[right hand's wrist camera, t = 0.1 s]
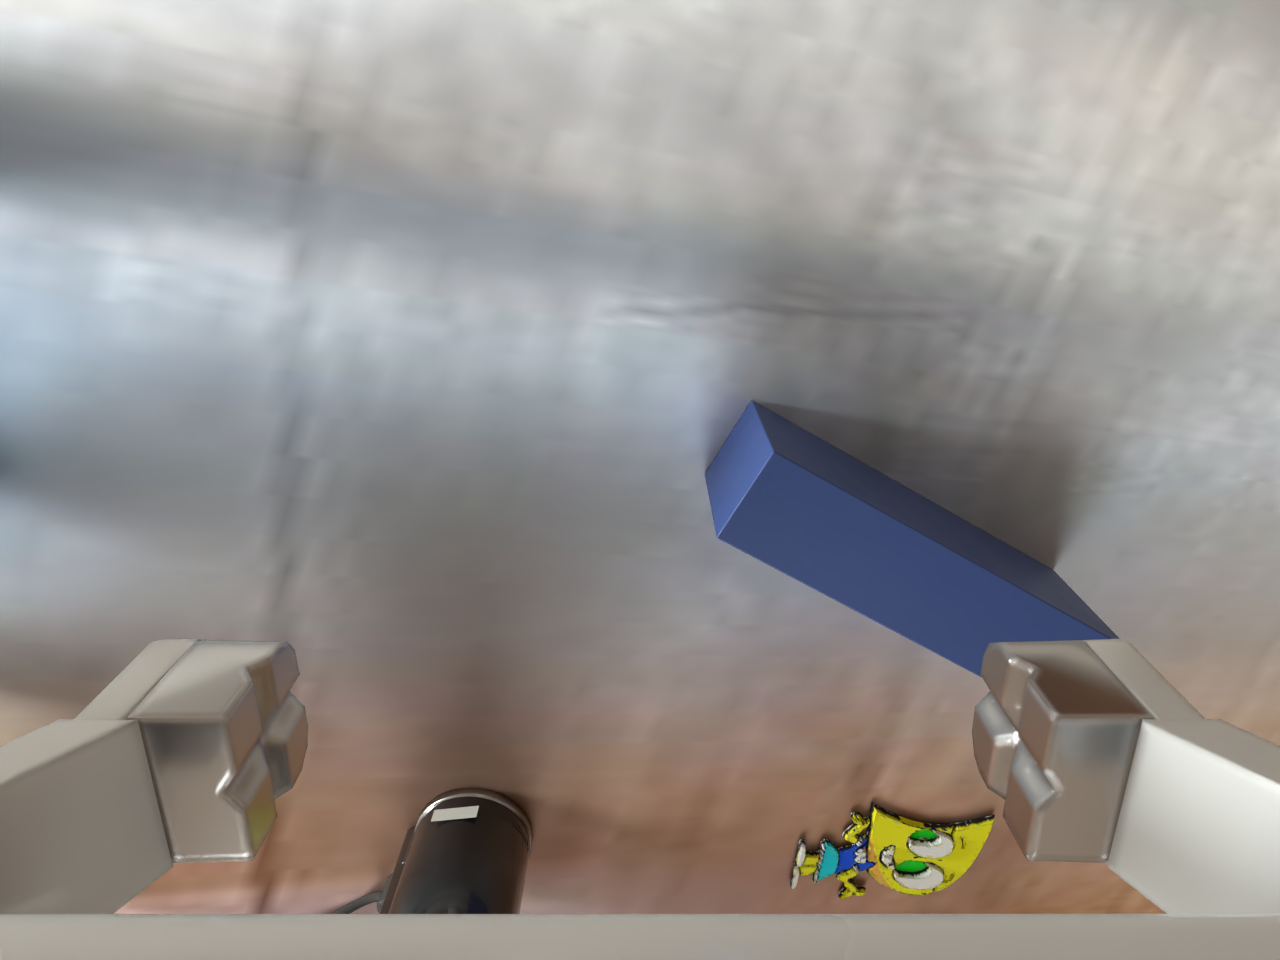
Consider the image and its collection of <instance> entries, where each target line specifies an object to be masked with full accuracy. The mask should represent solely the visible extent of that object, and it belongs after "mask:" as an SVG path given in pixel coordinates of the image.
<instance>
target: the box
mask: <svg viewBox="0 0 1280 960" xmlns="http://www.w3.org/2000/svg"><path fill="white" fill-rule="evenodd" d="M705 478H706V484H707V489H708V494H709V499H710V504H711V509H712V514H713V520H714V525H715V530H716V535H717V538H718V539H720V540H722V541H724V542H726V543H728V544H730V545H732V546H734V547H735V548H737V549H739V550H741V551H743V552H745V553H747V554H749V555H751V556H752V557H754V558H756V559H758V560H760V561H762V562H764V563H766V564H768V565H770V566H771V567H773V568H775V569H777V570H779V571H781V572H783V573H785V574H787V575H788V576H790V577H792V578H794V579H796V580H798V581H800V582H802V583H804V584H806V585H807V586H809V587H811V588H813V589H815V590H817V591H819V592H821V593H823V594H824V595H826V596H828V597H830V598H832V599H834V600H836V601H838V602H840V603H842V604H843V605H845V606H847V607H849V608H851V609H853V610H855V611H857V612H859V613H860V614H862V615H864V616H866V617H868V618H870V619H872V620H874V621H876V622H878V623H879V624H881V625H883V626H885V627H887V628H889V629H891V630H893V631H895V632H896V633H898V634H900V635H902V636H904V637H906V638H908V639H910V640H912V641H914V642H915V643H917V644H919V645H921V646H923V647H925V648H927V649H929V650H931V651H932V652H934V653H936V654H938V655H940V656H942V657H944V658H946V659H948V660H950V661H951V662H953V663H955V664H957V665H959V666H961V667H963V668H965V669H967V670H968V671H970V672H972V673H974V674H976V675H978V676H980V677H982V676H981V675H980V673H981V667H982V662H983V656H984V654H985V651H986V649H987V647H988V645H989V643H997V642H1031V641H1072V640H1101V639H1119V638H1118V636H1117V635H1116V634H1115V633H1114V632H1113V631H1112V630H1111V629H1110V628H1109V627H1108V626H1107V625H1106V624H1105V623H1104V622H1103V621H1102V620H1101V619H1100V618H1099V617H1098V616H1097V615H1096V614H1095V613H1094V612H1093V611H1092V610H1091V609H1090V608H1089V607H1088V606H1087V604H1086V603H1085V602H1084V601H1083V600H1082V599H1081V598H1080V597H1079V596H1078V595H1077V594H1076V593H1075V592H1074V591H1073V590H1072V589H1071V588H1070V587H1069V586H1068V585H1067V584H1066V583H1065V582H1064V581H1063V580H1062V579H1061V578H1060V577H1059V576H1058V575H1057V574H1056V572H1055V571H1054V570H1052V569H1050V568H1048V567H1047V566H1045V565H1043V564H1041V563H1040V562H1038V561H1036V560H1034V559H1032V558H1031V557H1029V556H1027V555H1025V554H1024V553H1022V552H1020V551H1018V550H1016V549H1015V548H1013V547H1011V546H1009V545H1008V544H1006V543H1004V542H1002V541H1001V540H999V539H997V538H995V537H993V536H992V535H990V534H988V533H986V532H985V531H983V530H981V529H979V528H978V527H976V526H974V525H972V524H970V523H969V522H967V521H965V520H963V519H962V518H960V517H958V516H956V515H954V514H953V513H951V512H949V511H947V510H946V509H944V508H942V507H940V506H939V505H937V504H935V503H933V502H931V501H930V500H928V499H926V498H924V497H923V496H921V495H919V494H917V493H916V492H914V491H912V490H910V489H908V488H907V487H905V486H903V485H901V484H900V483H898V482H896V481H894V480H892V479H891V478H889V477H887V476H885V475H884V474H882V473H880V472H878V471H877V470H875V469H873V468H871V467H869V466H868V465H866V464H864V463H862V462H861V461H859V460H857V459H855V458H853V457H852V456H850V455H848V454H846V453H845V452H843V451H841V450H839V449H838V448H836V447H834V446H832V445H830V444H829V443H827V442H825V441H823V440H822V439H820V438H818V437H816V436H815V435H813V434H811V433H809V432H807V431H806V430H804V429H802V428H800V427H799V426H797V425H795V424H793V423H791V422H790V421H788V420H786V419H784V418H783V417H781V416H779V415H777V414H776V413H774V412H772V411H770V410H768V409H767V408H765V407H763V406H761V405H760V404H758V403H756V402H754V401H751V402H750V404H749V405H748V407H747V408H746V410H745V411H744V413H743V415H742V416H741V418H740V419H739V421H738V422H737V424H736V426H735V427H734V429H733V430H732V432H731V433H730V435H729V437H728V438H727V440H726V441H725V443H724V444H723V446H722V448H721V449H720V451H719V452H718V454H717V455H716V457H715V459H714V460H713V462H712V463H711V465H710V467H709V468H708V470H707V471H706V473H705Z"/></svg>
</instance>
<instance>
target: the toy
mask: <svg viewBox="0 0 1280 960" xmlns="http://www.w3.org/2000/svg"><path fill="white" fill-rule="evenodd" d="M869 813H870V815H869V816H867V817H863V816H862V815H861V814H860V813H859V812H852V813H851V819H852V820H853V821H854V823H853V824H852V825H851V826H849V827H848V828H847V829H846V830H845V831H844V832H843V835H842V836H843V837H844V838H845V839H846V840H847V841H850V842H851V843H855V844H852V845H848V846H844V847H840V848H838V847H837V846H836V845H835V844H834V843H833V842H831V841H830V840H828V839H824V840H823V841H821V842H820V846H821V847H819V849H818V850H819V851H806V841H805V840H802V839H800V840H799V844H798V848H797V853H796V857H795V861H794V866H793V877H794V879H793V881H792V882H791V880H790V884H789V885H790V887H791V889H792V890H794V887H796V885H797V881H798V877H799V875H809V874H810V873H812V879H813V881H814V883H815V884H816V882H817V880H822V879H823V878H825V877H828V876H830V875H831V874H833V873H834V874H836V878H837V879H838V880H839V881H842V880H843V881H842V882H843V884H844V886H845V887H843V888H842V889H841V890H840V892H839V894H838V897H839V898H840V899H845V898H846V897H849V896H852V894H853V895H856V896H861V895H864V894H865V887H859V886H857V885H856V882H855V881H854V880H852V879H851V878H852V877H854V876H856V875H857V874H859V871H863V870H865V869H866V871H867V873H868V874H870V875H871V876H872V877H873V878H874V879H875V880H876V881H878V882H879V883H880V884H882V885H884V886H886V887H888V888H890V889H892V890H895V891H897V892H900V893H903V894H910V895H927V894H931V893H932V892H933V890H935V891H936V892H937V891H940V890H942V889H945V888H946V887H948V886H949V885H951V884H952V883H953V882H955V881H956V880H957V879H958V878H960V877H961V876H962V875H963V874H964V873H965V872H966V871H967V869H968V868H969V867H970V866H971V864H972V863H973V861H974V860H975V859H976V857H977V856H978V853H979V852H980V850H981V849H982V846H983V843H985V841H986V839H987V837H988V835H989V833H990V830H991V827H992V824H993V822H994V815H990V816H986V817H983V818H979V819H974V820H971V821H965V822H960V823H951V824H930V823H922V822H917V821H913V820H910V819H907V818H904V817H902V816H899V815H896V814H893V813H891V812H889V811H887V810H885V809H883V808H881V807H879V806H877V805H876V804H874V803H871V808H870V812H869ZM883 816H884V817H885V818H884V817H883ZM859 822H861V823H859ZM861 826H863V827H861ZM867 826H868V827H867ZM909 826H910V827H909ZM865 827H867V829H868V830H867V835H866V834H861V833H860V832H861V831H862V830H863V829H864V828H865ZM857 829H858V830H857ZM964 829H965V830H964ZM963 830H964V831H963ZM917 831H918V832H917ZM955 832H956V833H955ZM913 834H914V835H913ZM849 835H850V836H849ZM954 835H955V836H954ZM852 836H854V837H852ZM936 836H937V837H936ZM964 836H965V838H964ZM913 837H914V838H913ZM945 837H946V838H945ZM924 839H927V840H924ZM863 841H864V842H863ZM969 841H970V842H969ZM906 843H907V848H906ZM959 843H960V844H959ZM965 843H966V844H967V845H966V844H965ZM861 844H862V846H861ZM916 845H917V846H916ZM936 845H937V846H936ZM939 845H940V846H939ZM918 846H919V847H918ZM926 846H927V847H926ZM930 846H931V847H930ZM932 846H933V847H932ZM846 851H847V852H846ZM891 851H892V852H891ZM908 851H909V852H908ZM874 856H876V857H874ZM814 858H815V859H814ZM934 858H935V859H934ZM908 861H910V862H908ZM919 861H920V862H919ZM876 862H877V863H876ZM861 863H863V864H861ZM902 863H903V864H902ZM934 863H935V864H934ZM805 867H806V868H805ZM810 867H813V868H810ZM804 868H805V869H804ZM863 868H864V869H863ZM882 869H884V870H882ZM903 870H904V871H903ZM798 871H799V872H798ZM879 872H880V873H879ZM955 872H956V873H955ZM829 873H830V874H829ZM852 873H853V874H852ZM949 874H950V875H949ZM844 875H845V876H844ZM949 876H950V877H949ZM840 877H841V878H840ZM898 877H899V878H898ZM946 877H947V878H946ZM921 878H922V879H921ZM886 879H887V880H888V881H887V880H886ZM885 880H886V881H885ZM949 881H950V882H949ZM890 882H891V883H890ZM946 883H948V884H946ZM845 884H846V885H845ZM854 887H855V889H854ZM849 888H850V889H849ZM930 889H932V890H930ZM851 890H852V891H851ZM925 890H926V891H925ZM858 892H860V893H858Z"/></svg>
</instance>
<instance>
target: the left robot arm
mask: <svg viewBox="0 0 1280 960" xmlns="http://www.w3.org/2000/svg"><path fill="white" fill-rule="evenodd" d="M531 846H532V828H531V825H530V822H529V820H528V818H527V816H526V815H525V813H524V812H523V811H522V810H521V808H520V807H519V806H517V805H516V804H515V803H514V802H513V801H511V800H510V799H508V798H507V797H505V796H503V795H501V794H498V793H496V792H493V791H490V790H486V789H480V788H461V789H455V790H451V791H448V792H445V793H443V794H441V795H439V796H437V797H436V798H434V799H433V800H432V801H430V802H429V803H428V804H427V805H426V806H425V808H424V809H423V810H422V812H421V814H420V816H419V818H418V821H417V824H416V826H415V827H413V828H411V829H409V830H408V831H407V834H406V837H405V840H404V843H403V845H402V848H401V851H400V854H399V857H398V860H397V863H396V866H395V869H394V872H393V874H391V875H389V876H388V878H387V881H386V884H385V887H384V889H383V891H378V892H373V893H370V894H368V895H366V896H363V897H361V898H359V899H357V900H355V901H353V902H351V903H349V904H347V905H346V906H344V907H342V908H340V909H338V910H337V911H335V912H334V913H332V914H350V913H351V912H353V911H355V910H357V909H359V908H360V907H363V906H365V905H367V904H370V903H372V902H378V903H377V909H378V912H379V914H520V908H521V901H522V895H523V888H524V882H525V876H526V869H527V863H528V859H529V856H530V852H531Z"/></svg>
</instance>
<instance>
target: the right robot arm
mask: <svg viewBox="0 0 1280 960" xmlns="http://www.w3.org/2000/svg"><path fill="white" fill-rule="evenodd" d="M299 675H300V673H299V668H298V663H297V658H296V653H295V649H294V648H293V647H292V646H291V645H290V644H289V643H288V642H287V641H241V640H199V639H178V640H159V641H153V642H151V643H150V644H149V645H148V646H147V647H146V648H145V649H144V650H143V651H142V652H141V653H140V654H139V655H138V656H137V657H136V658H135V659H134V660H133V661H132V662H131V663H130V664H129V665H128V666H127V667H126V668H125V669H124V670H123V671H122V672H121V673H120V674H119V675H118V676H117V677H116V678H115V679H114V680H113V681H112V682H111V683H110V684H109V685H108V686H107V687H106V688H105V689H104V690H103V691H102V692H101V693H100V694H99V695H98V696H97V697H96V698H95V699H94V700H93V701H92V702H91V703H90V704H89V705H88V706H87V707H86V708H85V709H84V710H83V711H82V712H81V713H80V714H79V715H78V716H77V717H76V718H75V719H69V720H58V721H55V722H53V723H51V724H49V725H46V726H44V727H42V728H40V729H37V730H35V731H33V732H31V733H28V734H26V735H24V736H22V737H19V738H17V739H15V740H13V741H10V742H8V743H6V744H3V745H1V746H0V960H1280V746H1279V745H1276V744H1274V743H1272V742H1270V741H1267V740H1265V739H1263V738H1261V737H1258V736H1256V735H1254V734H1252V733H1249V732H1247V731H1245V730H1243V729H1240V728H1238V727H1236V726H1234V725H1231V724H1229V723H1227V722H1225V721H1222V720H1211V719H1205V718H1204V717H1203V716H1202V715H1201V714H1200V713H1199V712H1198V711H1197V710H1196V709H1195V708H1194V707H1193V706H1192V705H1191V704H1190V703H1189V702H1188V701H1187V700H1186V699H1185V698H1184V697H1183V696H1182V695H1181V694H1180V693H1179V692H1178V691H1177V690H1176V689H1175V688H1174V687H1173V686H1172V685H1171V684H1170V683H1169V682H1168V681H1167V680H1166V679H1165V678H1164V677H1163V676H1162V675H1161V674H1160V673H1159V672H1158V671H1157V670H1156V669H1155V668H1154V667H1153V666H1152V665H1151V664H1150V663H1149V662H1148V661H1147V660H1146V659H1145V658H1144V657H1143V656H1142V655H1141V654H1140V652H1139V651H1138V650H1137V649H1136V648H1135V647H1134V646H1133V645H1132V644H1131V643H1129V642H1126V641H1123V640H1121V639H1101V640H1072V641H1031V642H997V643H989V645H988V647H987V649H986V651H985V654H984V656H983V662H982V667H981V673H980V675H981V676H982V678H983V679H984V681H985V683H986V684H987V686H988V687H989V689H990V692H989V693H988V694H987V695H986V696H985V697H984V698H983V699H982V700H981V701H980V702H979V703H978V704H977V705H976V706H975V711H974V720H973V728H972V737H973V748H974V756H975V759H976V763H977V766H978V769H979V772H980V774H981V776H982V778H983V780H984V782H985V784H986V786H987V788H988V789H990V790H991V791H993V792H994V793H996V794H997V795H999V796H1001V797H1002V798H1004V799H1005V805H1004V811H1003V818H1004V819H1005V821H1006V823H1007V825H1008V827H1009V829H1010V830H1011V832H1012V834H1013V836H1014V838H1015V839H1016V841H1017V843H1018V845H1019V847H1020V849H1021V850H1022V852H1023V854H1024V856H1025V858H1026V859H1027V861H1055V862H1092V863H1108V864H1107V867H1108V868H1109V869H1111V870H1112V871H1113V872H1115V873H1116V874H1117V875H1118V876H1120V877H1121V878H1122V879H1123V880H1125V881H1126V882H1127V883H1129V884H1130V885H1131V886H1132V887H1134V888H1135V889H1136V890H1137V891H1139V892H1140V893H1141V894H1143V895H1144V896H1145V897H1146V898H1148V899H1149V900H1150V901H1151V902H1153V903H1154V904H1155V905H1157V906H1158V907H1159V908H1160V909H1162V910H1163V911H1164V912H1166V913H1167V914H113V913H115V912H116V911H117V910H119V909H120V908H121V907H122V906H124V905H125V904H126V903H128V902H129V901H130V900H131V899H133V898H134V897H135V896H136V895H138V894H139V893H140V892H142V891H143V890H144V889H145V888H147V887H148V886H149V885H151V884H152V883H153V882H154V881H156V880H157V879H158V878H159V877H161V876H162V875H163V874H165V873H166V872H167V871H168V870H170V869H171V868H172V867H173V864H172V863H188V862H223V861H253V860H254V858H255V856H256V854H257V852H258V851H259V849H260V847H261V845H262V843H263V841H264V840H265V838H266V836H267V834H268V832H269V830H270V829H271V827H272V825H273V823H274V821H275V819H276V818H277V811H276V805H275V799H276V798H278V797H279V796H281V795H283V794H284V793H286V792H287V791H289V790H290V789H292V788H293V786H294V784H295V782H296V780H297V778H298V776H299V774H300V772H301V770H302V766H303V762H304V758H305V753H306V749H307V731H308V724H307V718H306V711H305V706H304V705H303V704H302V703H301V702H300V701H299V700H298V699H297V698H296V697H295V696H294V695H293V694H292V693H291V692H290V689H291V687H292V686H293V684H294V683H295V681H296V679H297V678H298V676H299Z"/></svg>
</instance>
